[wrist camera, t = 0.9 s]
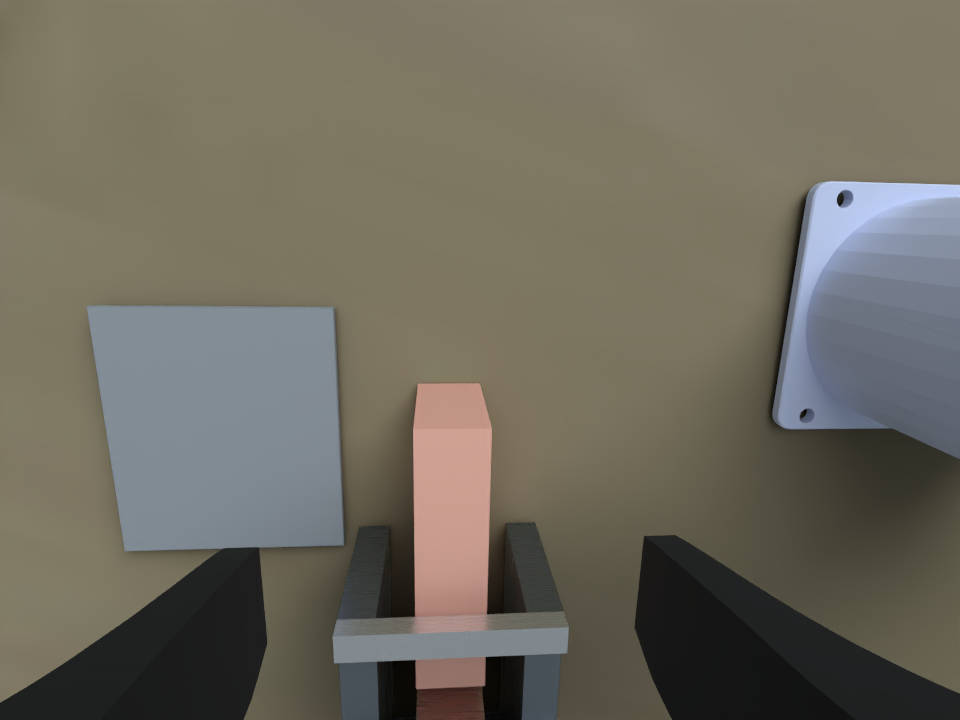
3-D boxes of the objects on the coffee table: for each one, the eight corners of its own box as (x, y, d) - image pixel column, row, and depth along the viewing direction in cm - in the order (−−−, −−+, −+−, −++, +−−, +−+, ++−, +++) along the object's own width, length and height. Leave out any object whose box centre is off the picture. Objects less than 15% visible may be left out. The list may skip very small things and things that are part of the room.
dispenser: (534, 522, 19) (569, 627, 14) (524, 730, 21) (551, 883, 16) (359, 526, 19) (332, 636, 14) (367, 739, 21) (346, 899, 16)
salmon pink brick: (479, 383, 18) (491, 428, 14) (475, 595, 20) (485, 685, 16) (418, 383, 18) (413, 429, 14) (419, 597, 20) (415, 689, 16)
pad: (335, 307, 17) (333, 308, 17) (345, 540, 19) (343, 545, 19) (92, 305, 16) (86, 306, 16) (129, 545, 18) (124, 551, 18)
